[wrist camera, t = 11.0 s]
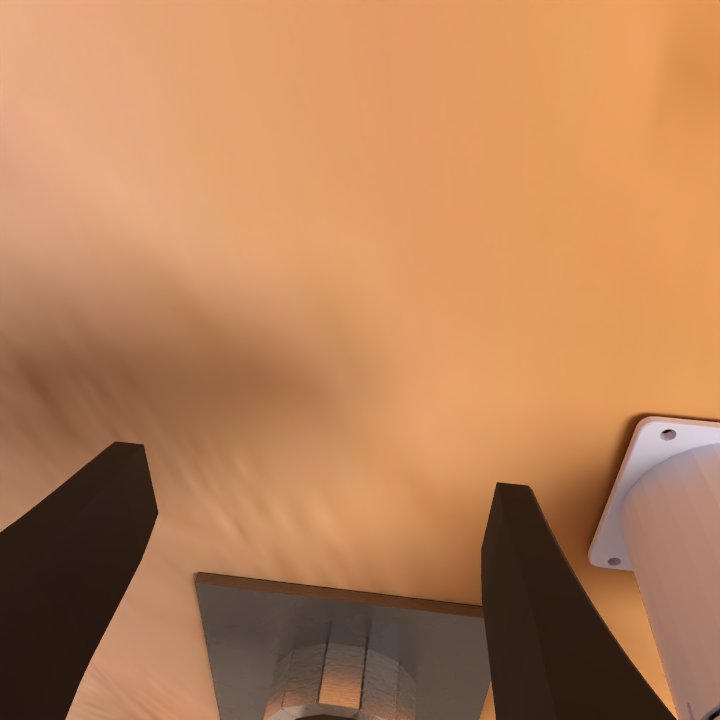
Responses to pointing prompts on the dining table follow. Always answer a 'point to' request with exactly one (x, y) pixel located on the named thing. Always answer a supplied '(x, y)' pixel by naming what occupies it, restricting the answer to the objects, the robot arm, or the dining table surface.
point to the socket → (340, 653)
